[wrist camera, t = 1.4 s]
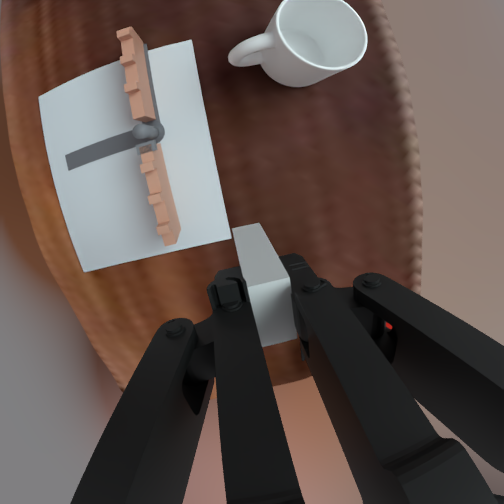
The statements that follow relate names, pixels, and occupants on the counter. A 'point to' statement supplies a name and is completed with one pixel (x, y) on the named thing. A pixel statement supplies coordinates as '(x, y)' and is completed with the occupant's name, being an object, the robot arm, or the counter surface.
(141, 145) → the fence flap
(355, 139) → the counter surface
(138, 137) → the fence fixed
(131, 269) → the counter surface
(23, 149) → the counter surface
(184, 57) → the card
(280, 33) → the mug
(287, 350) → the counter surface
